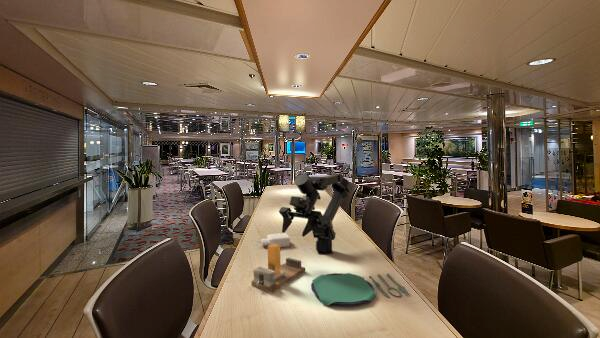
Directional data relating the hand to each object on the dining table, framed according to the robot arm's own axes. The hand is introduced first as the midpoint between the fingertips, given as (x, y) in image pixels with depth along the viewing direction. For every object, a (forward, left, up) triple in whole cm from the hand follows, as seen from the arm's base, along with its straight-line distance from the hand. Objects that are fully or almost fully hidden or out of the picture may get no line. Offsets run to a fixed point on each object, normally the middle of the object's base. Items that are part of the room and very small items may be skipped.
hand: (292, 234), depth 103 cm
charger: (+8, -31, -14) cm, 34 cm away
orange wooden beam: (+9, +11, -12) cm, 18 cm away
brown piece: (+5, +6, -14) cm, 16 cm away
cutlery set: (-20, +18, -15) cm, 30 cm away
